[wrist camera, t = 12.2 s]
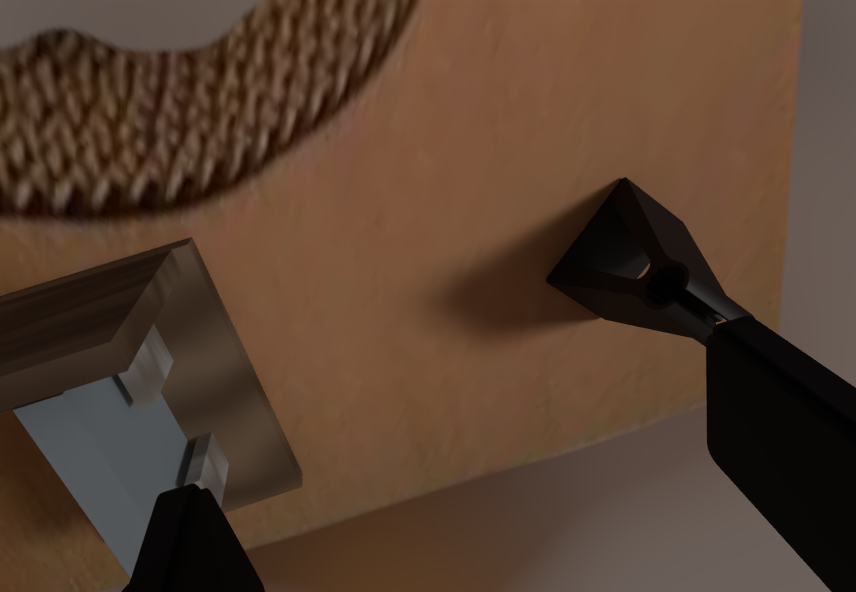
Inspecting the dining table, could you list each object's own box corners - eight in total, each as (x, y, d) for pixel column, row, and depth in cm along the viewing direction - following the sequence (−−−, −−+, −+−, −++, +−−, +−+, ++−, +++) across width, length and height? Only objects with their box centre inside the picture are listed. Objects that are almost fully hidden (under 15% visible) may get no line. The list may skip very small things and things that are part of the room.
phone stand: (601, 317, 45) (695, 405, 34) (544, 280, 43) (624, 361, 32) (680, 220, 43) (806, 281, 32) (623, 176, 40) (739, 224, 30)
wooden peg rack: (-32, 306, 36) (-207, 442, 24) (192, 237, 37) (133, 334, 24) (124, 533, 44) (54, 719, 32) (302, 473, 45) (300, 632, 33)
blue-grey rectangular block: (66, 331, 36) (-5, 415, 28) (117, 315, 36) (62, 394, 28) (166, 496, 42) (132, 604, 34) (210, 481, 42) (186, 586, 34)
